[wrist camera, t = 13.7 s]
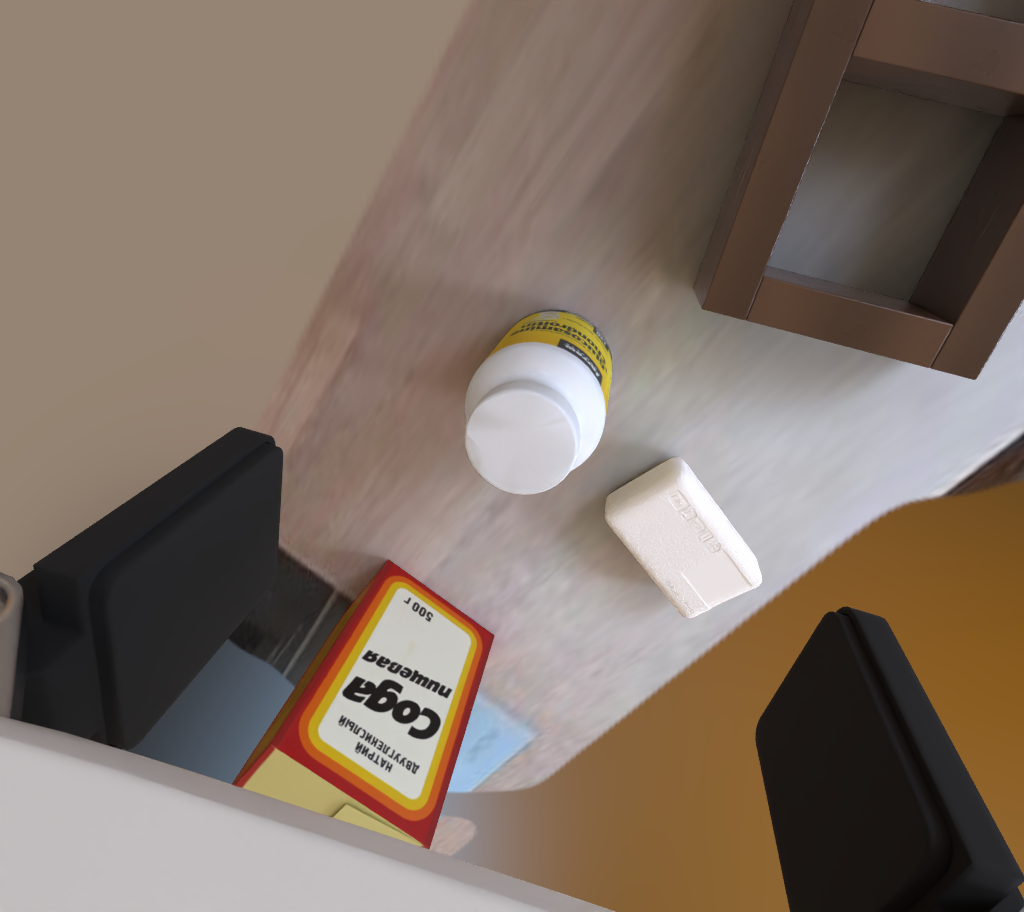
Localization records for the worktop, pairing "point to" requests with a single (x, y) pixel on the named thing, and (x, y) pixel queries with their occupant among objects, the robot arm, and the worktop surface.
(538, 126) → the worktop surface
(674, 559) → the soap
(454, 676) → the baking soda box
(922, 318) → the brown divided wooden tray
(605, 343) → the pill bottle
